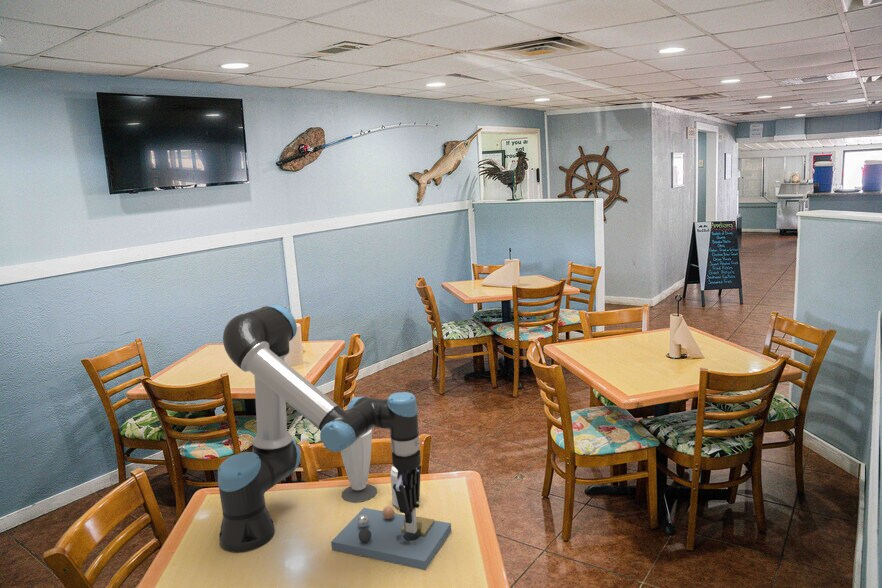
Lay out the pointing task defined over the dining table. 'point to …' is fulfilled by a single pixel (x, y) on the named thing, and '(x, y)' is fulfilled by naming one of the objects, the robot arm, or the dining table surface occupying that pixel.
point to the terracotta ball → (388, 512)
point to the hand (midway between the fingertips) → (411, 531)
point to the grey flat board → (391, 540)
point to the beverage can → (393, 481)
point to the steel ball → (362, 521)
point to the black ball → (364, 535)
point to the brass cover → (421, 526)
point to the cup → (358, 469)
